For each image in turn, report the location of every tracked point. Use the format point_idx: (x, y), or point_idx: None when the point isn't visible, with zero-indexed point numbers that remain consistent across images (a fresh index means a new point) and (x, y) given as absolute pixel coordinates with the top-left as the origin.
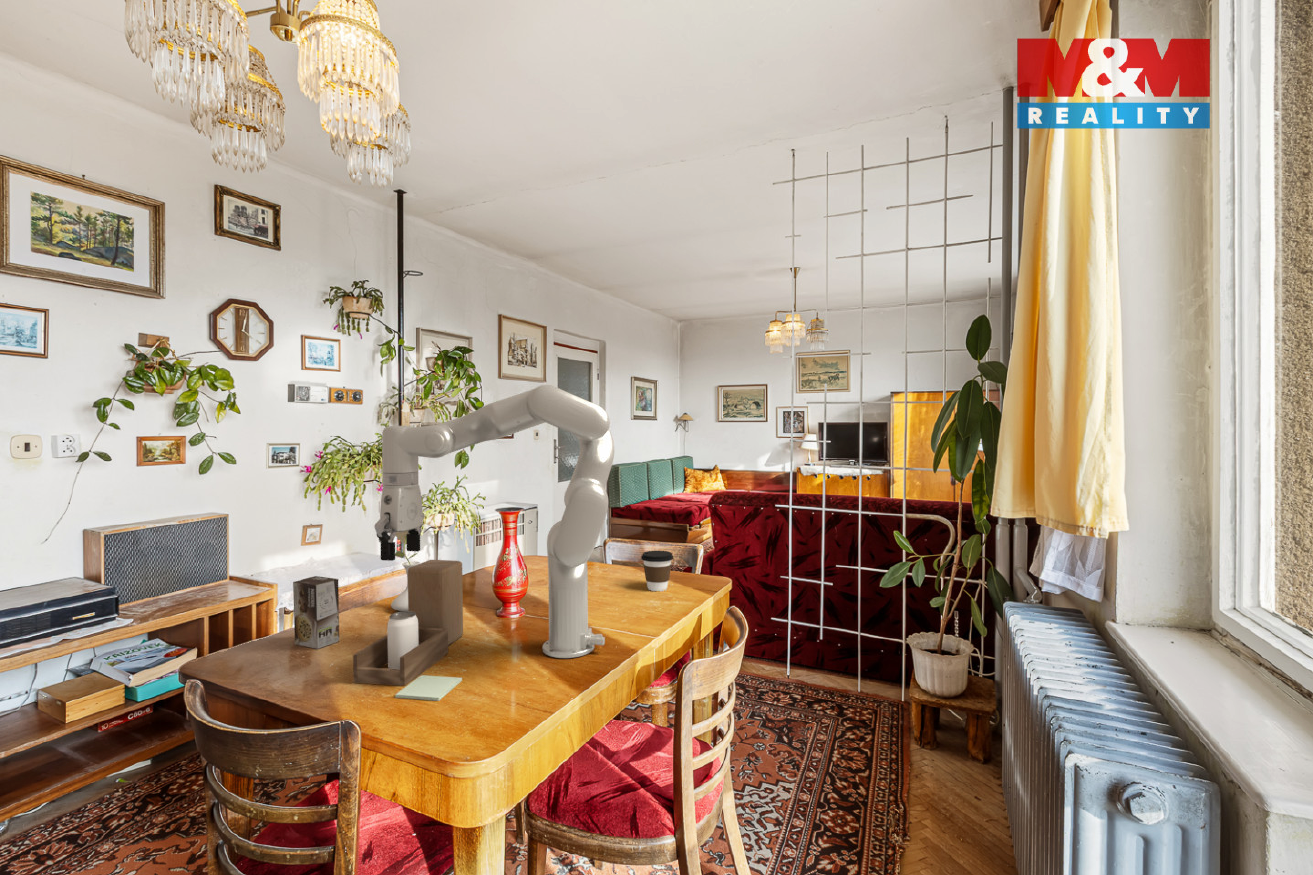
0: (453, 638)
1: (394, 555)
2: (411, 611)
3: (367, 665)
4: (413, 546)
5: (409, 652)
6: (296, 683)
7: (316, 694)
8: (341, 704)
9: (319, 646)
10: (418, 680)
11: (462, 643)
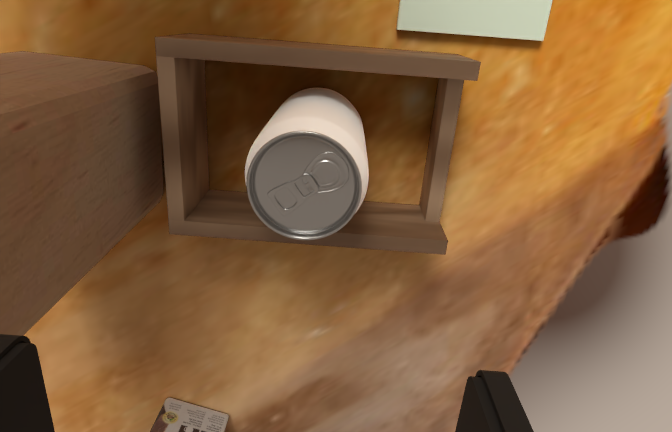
0: (87, 59)
1: (508, 403)
2: (249, 174)
3: (390, 215)
4: (12, 420)
5: (426, 69)
6: (435, 344)
7: (501, 266)
8: (567, 172)
9: (223, 416)
10: (439, 17)
11: (86, 23)
